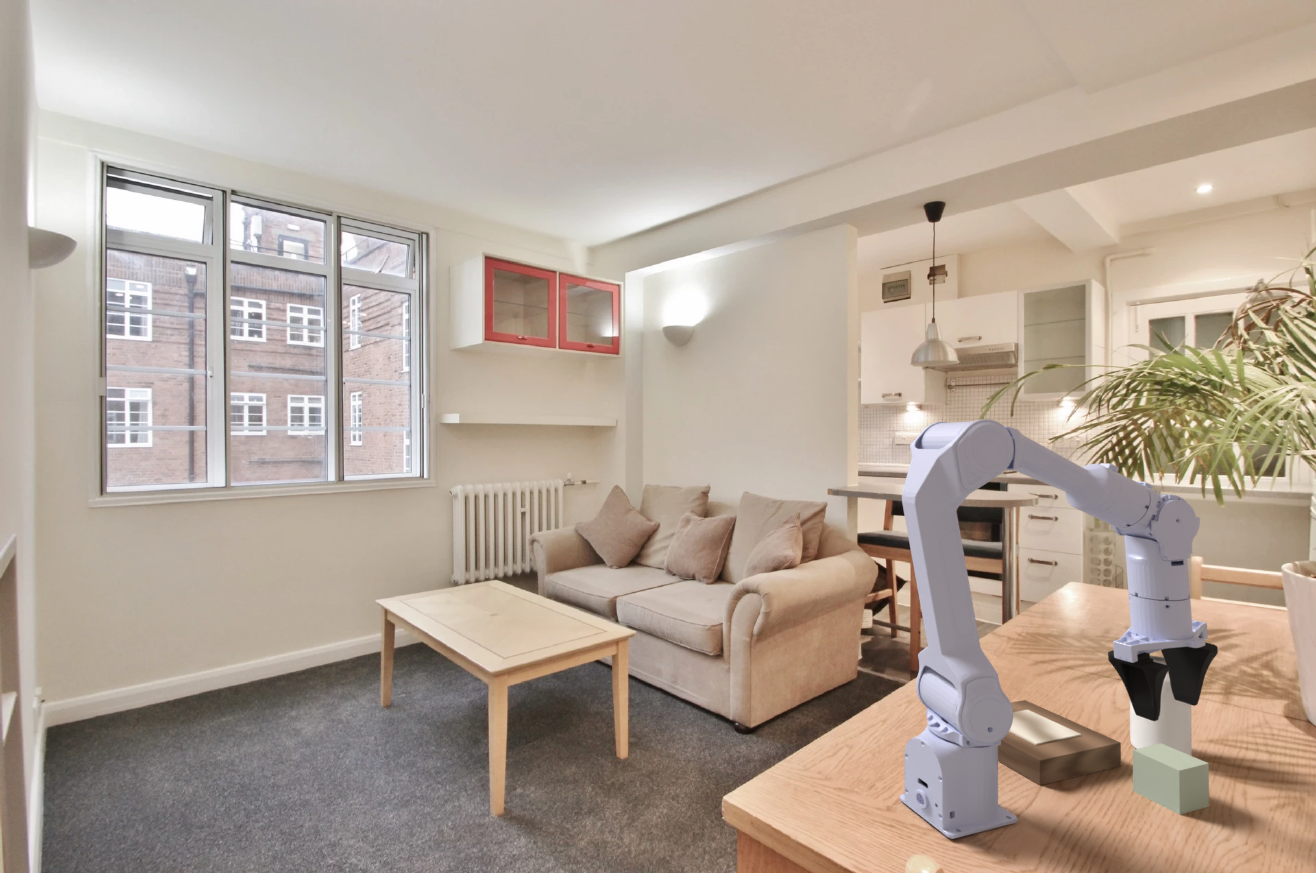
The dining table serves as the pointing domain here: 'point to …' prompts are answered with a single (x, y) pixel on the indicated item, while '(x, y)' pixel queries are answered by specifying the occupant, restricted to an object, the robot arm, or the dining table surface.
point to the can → (1164, 722)
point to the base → (1054, 746)
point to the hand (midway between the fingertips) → (1166, 709)
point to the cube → (1171, 778)
